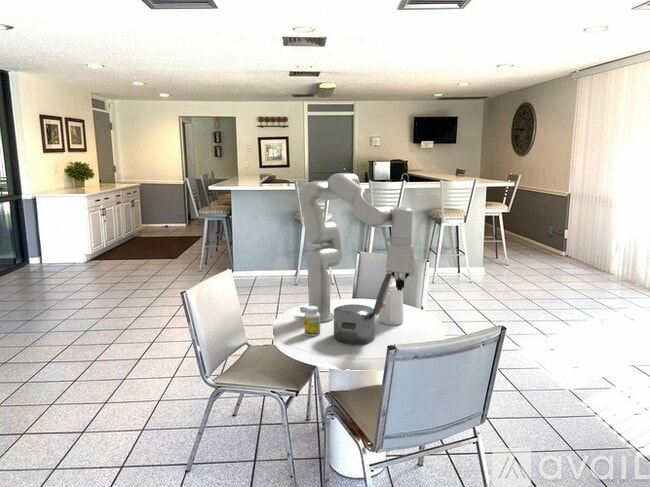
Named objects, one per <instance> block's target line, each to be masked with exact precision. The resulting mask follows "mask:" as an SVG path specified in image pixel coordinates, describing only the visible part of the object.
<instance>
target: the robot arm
mask: <svg viewBox="0 0 650 487" xmlns="http://www.w3.org/2000/svg"><path fill="white" fill-rule="evenodd" d="M366 198H367V190H366V189H365V187H363V186H362V185H361V182H360V178H359V177H358V176H357V175H356V174H355V173H351V172H339V173H335V174H332V175H330V176H329V177H328V178H327V180H314V181H310V182H306V183H305V184H304V185H302V187H301V189H300V192H299V196H298V200H299V205H300V208H301V211H302V216H303V225H304V230H305V231H304V232H305V237H306V240H307V242H308V243H309V244H310V245H322V244H323V246H318V247H315V248H311V249H310V250H309V251H308V252H307V253H306V254H305V255H306V256H305V263H306V267H307V268H306V269H307V275H308V277H307V278H308V306H317V307H318V312H319V314H320V323H327V322H330V321H332V320H334V313H332V312H331V277H330V274H329V272H328V270H327V269H330V268H331V267H335V266H338V265H339V264H340V263H341V262H342V261H343V248H342V240H341V234H340V228H339V226H338V225H337V224H336V222H334V221H331V220H324V213H323V210H322V208H321V206H320V205H319V203H318V202H323V201H324V202H326V201H333V200H338V199H340V200H342V201H343V202H345V203H346V204H348V205H349V206H350V207H351V210H352V212H353V213H354V215H355V216H356V218H358V219H359V220H360V221H362V222H363V223H364V224H366V225H367V226H368V227H372V228H381V227H388V226H391V231H390V232H391V233H390V234H391V236H390V237H387V238H386V240H387V242H390V244H389V245H388V247H387V254H386V262H385V263H386V265H385V266H386V267H385V269H386V270H385V273H386V274H391V275H392V276H393V277H394V278H395V279H396V281H395V282H396V287H397V290H400V291H402V292H403V290H402V289H404V288H405V280H406V279H407V278H408V277H410V276H411V277H412V276H415V274H416V271H415V268H416V264H415V263H416V261H415V260H416V258H415V247H414V245H413V244H412V242H413V240H412V239H413V220H414V219H413V216H414V214H413V209H412V208H409V207H397V206H393V205H383V206H381V205H380V206H374V205H373V204H370V203H369V202H368V201H367V200H366ZM399 273H400V274H401V277H400V274H399ZM299 311H300V313H304V314H305V313H306V312H307V311H306V307H305V306H300V308H299Z"/></svg>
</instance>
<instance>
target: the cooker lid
mask: <svg viewBox="0 0 650 487" xmlns="http://www.w3.org/2000/svg"><path fill="white" fill-rule="evenodd" d="M391 278H392V275H391V274H387V273H386V275H384V279H383V281H382V284H381V286H380V288H379V291H378V294H377V297H376V300H375V304H374V307H373V309H374V311H373V314H375V316H379V312H380V310H381V308H384V307H385V304H386V303H384V300H385V297H386V295H387V292H388V289H389V285H390V282H391Z"/></svg>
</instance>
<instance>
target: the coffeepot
mask: <svg viewBox="0 0 650 487" xmlns="http://www.w3.org/2000/svg"><path fill="white" fill-rule="evenodd" d="M403 289H404V288H403ZM403 289H402V291H400V290H397V287H396V281H395V282H394V279H391V282H390V285H389V289H388V292H387V295H386V297H385V300H384V303H386V304H385V307H384V308H381V310H380V312H379V314H378V315H377V317H378V318H377V319H378V321H379V323H380V324H383V325H385V326H397V325H401V324H402V323H403V322H404V320H405V319H404V318H405V317H404V314H405V313H404V298H403V296H404V295H403Z"/></svg>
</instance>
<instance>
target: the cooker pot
mask: <svg viewBox="0 0 650 487" xmlns="http://www.w3.org/2000/svg"><path fill="white" fill-rule="evenodd" d="M373 311H374V307H371V306H369V305H364V304H357V303H355V304H352V303H351V304H342V305H339V306H336V307H335V308H334V310H333V315H334V318H333V339H334V341H336V342H337V343H339V344H343V345H347V346H363V345H367V344H370V343H372V342H374V340H375V336H376V335H375V333H376V332H375V331H376V330H375V325H376V324H375V322H376V314H373Z"/></svg>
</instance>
